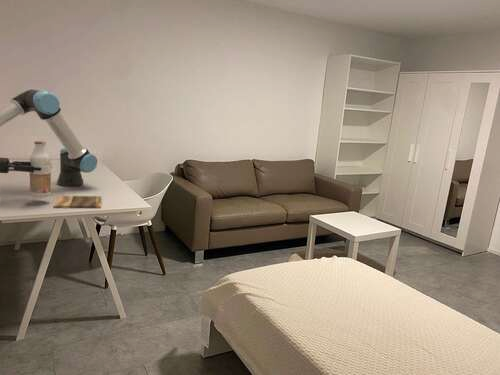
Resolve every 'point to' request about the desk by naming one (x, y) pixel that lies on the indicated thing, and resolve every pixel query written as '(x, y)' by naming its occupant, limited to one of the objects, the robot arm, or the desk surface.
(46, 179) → the fruit juice
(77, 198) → the floor panel
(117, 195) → the desk surface
